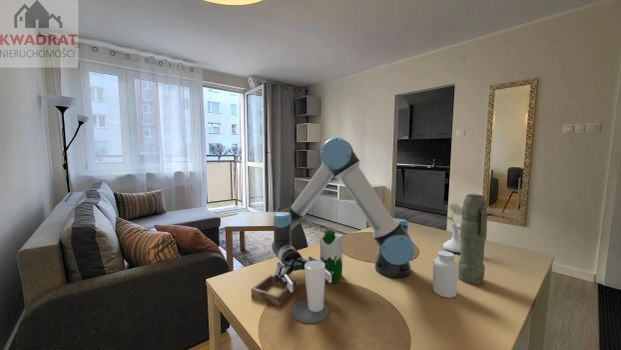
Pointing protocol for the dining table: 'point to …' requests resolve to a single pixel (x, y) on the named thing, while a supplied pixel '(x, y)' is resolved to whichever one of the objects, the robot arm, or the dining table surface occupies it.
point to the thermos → (473, 239)
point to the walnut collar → (270, 297)
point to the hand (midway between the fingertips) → (311, 283)
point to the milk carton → (332, 253)
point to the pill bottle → (445, 274)
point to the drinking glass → (315, 285)
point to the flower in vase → (454, 231)
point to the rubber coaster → (308, 313)
